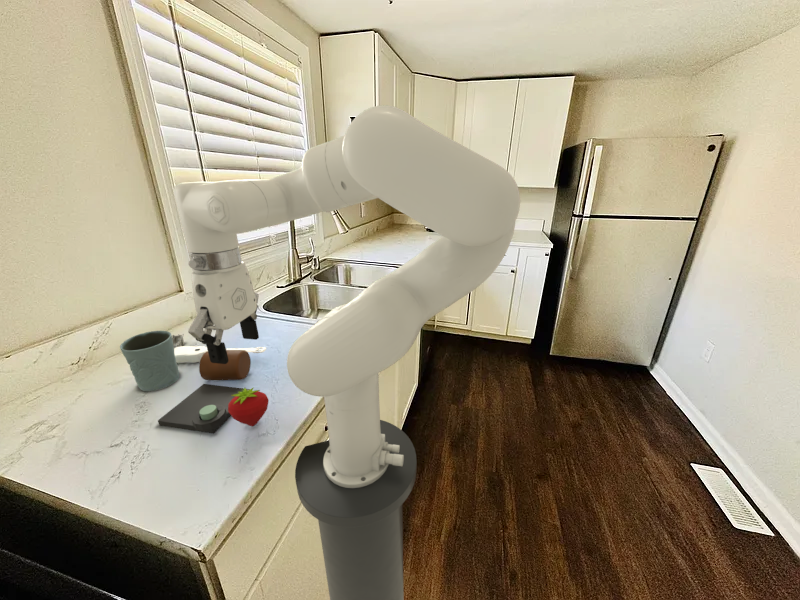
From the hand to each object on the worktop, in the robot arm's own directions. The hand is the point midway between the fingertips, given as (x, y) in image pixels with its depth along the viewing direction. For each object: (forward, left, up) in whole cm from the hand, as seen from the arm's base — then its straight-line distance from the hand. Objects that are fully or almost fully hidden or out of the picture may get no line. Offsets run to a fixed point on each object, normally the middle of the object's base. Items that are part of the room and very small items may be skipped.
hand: (236, 349), depth 61 cm
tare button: (+8, +1, -15) cm, 18 cm away
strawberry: (0, 0, -18) cm, 18 cm away
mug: (+12, -18, -15) cm, 26 cm away
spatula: (+26, -22, -18) cm, 39 cm away
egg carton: (+44, -24, -18) cm, 53 cm away
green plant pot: (+33, -10, -18) cm, 39 cm away
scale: (+13, -3, -18) cm, 22 cm away
